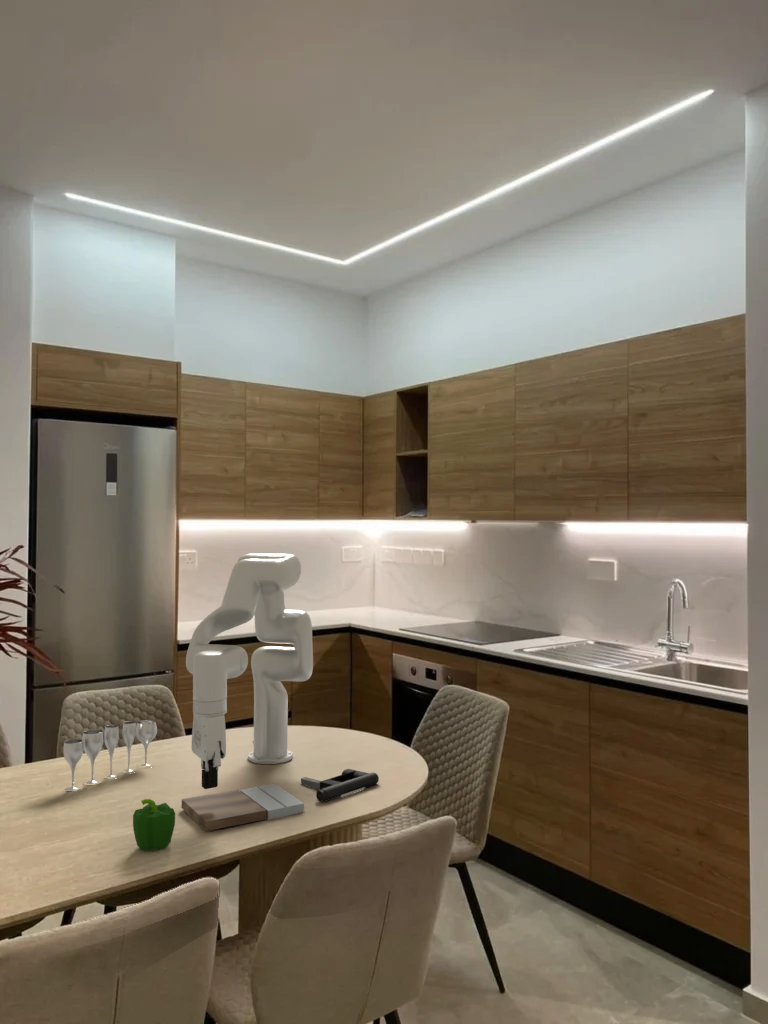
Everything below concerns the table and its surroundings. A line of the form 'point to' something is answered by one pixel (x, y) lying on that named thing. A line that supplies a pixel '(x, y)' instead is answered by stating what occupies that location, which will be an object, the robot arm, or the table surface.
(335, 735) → the table surface
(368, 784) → the door handle
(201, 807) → the plank
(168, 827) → the bell pepper
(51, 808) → the table surface
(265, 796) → the laid boards
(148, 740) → the goblet set
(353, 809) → the table surface
